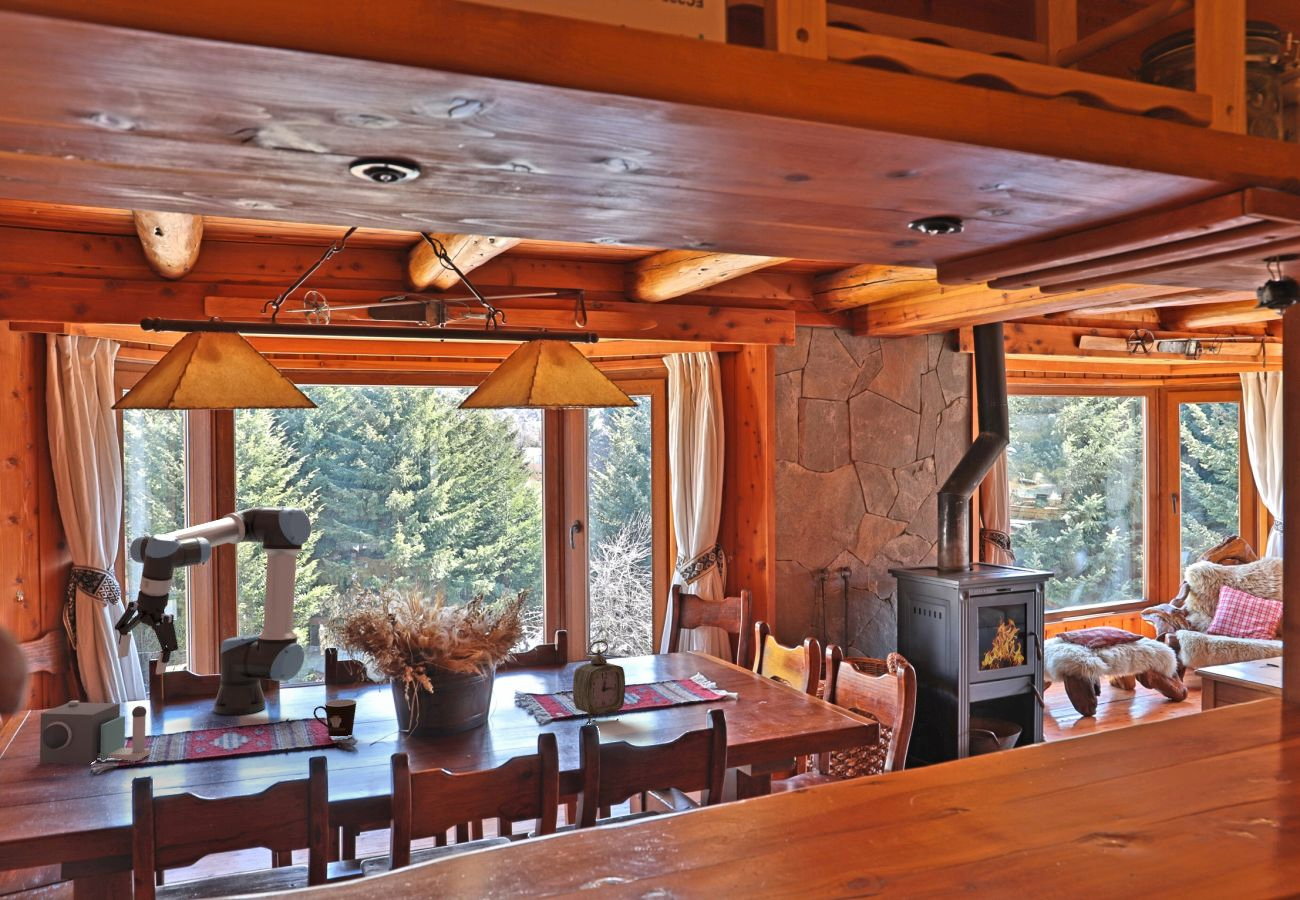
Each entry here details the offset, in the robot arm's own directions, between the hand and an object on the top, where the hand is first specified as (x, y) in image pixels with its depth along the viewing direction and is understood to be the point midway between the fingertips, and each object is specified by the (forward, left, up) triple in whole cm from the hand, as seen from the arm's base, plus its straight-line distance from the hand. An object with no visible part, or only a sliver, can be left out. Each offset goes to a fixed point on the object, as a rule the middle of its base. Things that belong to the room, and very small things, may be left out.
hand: (141, 664), depth 274 cm
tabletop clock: (-128, +3, -23) cm, 130 cm away
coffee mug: (-51, +1, -23) cm, 56 cm away
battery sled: (+6, +7, -23) cm, 25 cm away
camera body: (+14, +5, -23) cm, 27 cm away
